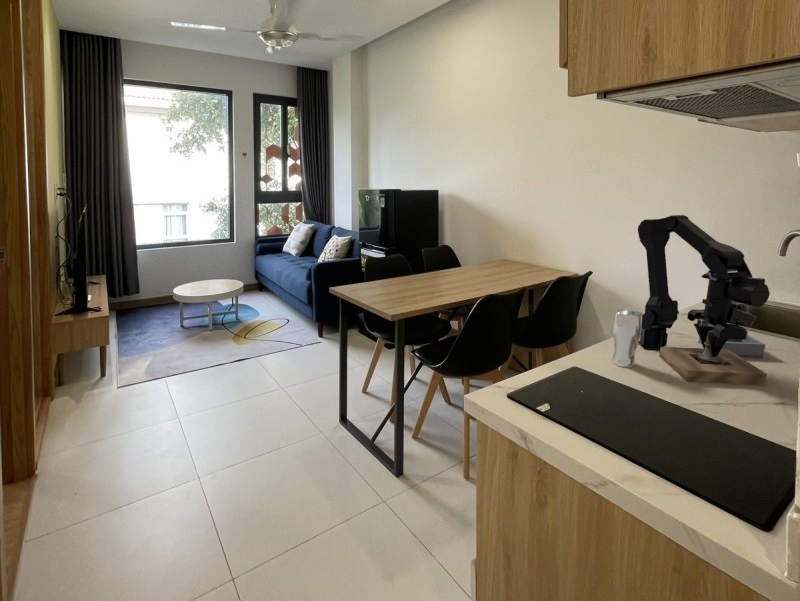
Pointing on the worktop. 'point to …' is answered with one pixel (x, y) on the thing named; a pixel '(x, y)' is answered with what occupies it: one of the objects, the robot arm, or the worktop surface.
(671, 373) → the worktop surface
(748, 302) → the robot arm
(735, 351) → the bin
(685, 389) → the worktop surface
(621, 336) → the beer glass
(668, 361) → the socket block
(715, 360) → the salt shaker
